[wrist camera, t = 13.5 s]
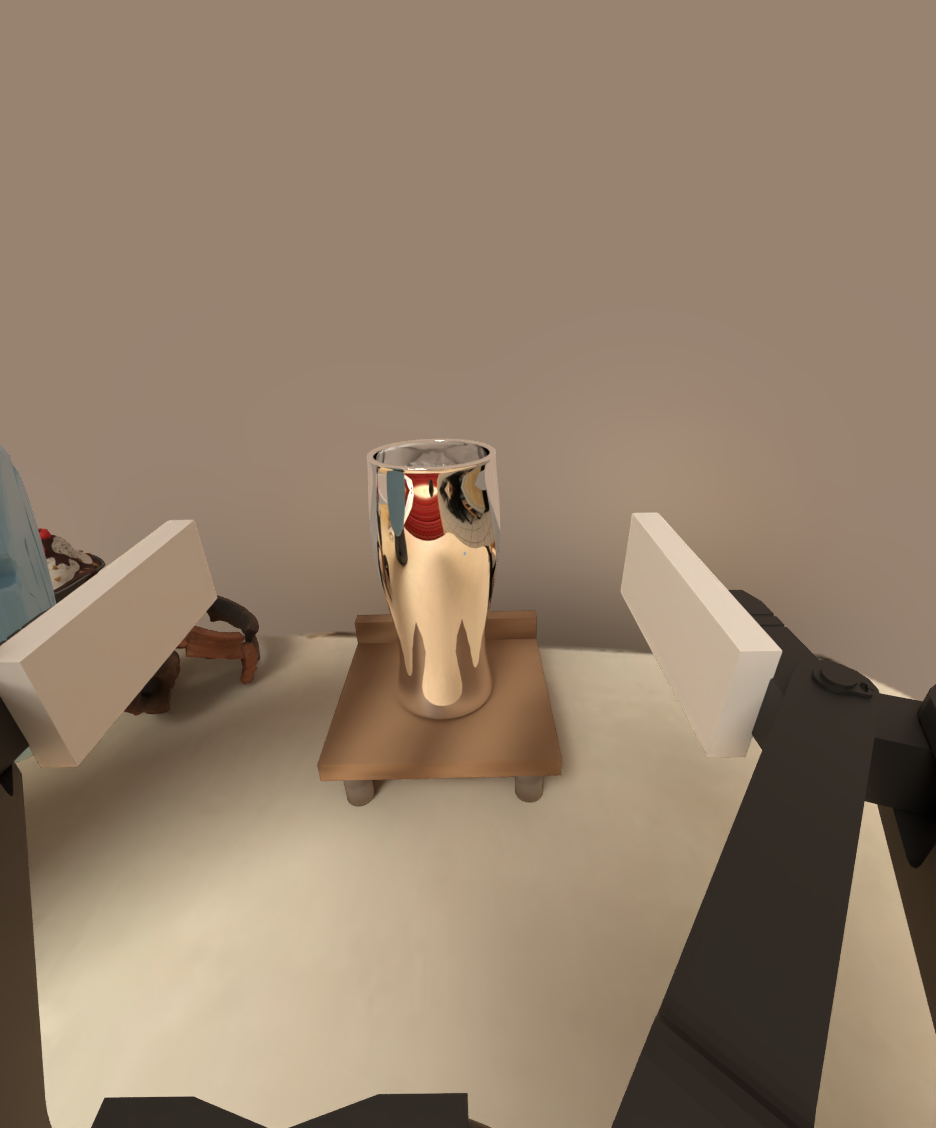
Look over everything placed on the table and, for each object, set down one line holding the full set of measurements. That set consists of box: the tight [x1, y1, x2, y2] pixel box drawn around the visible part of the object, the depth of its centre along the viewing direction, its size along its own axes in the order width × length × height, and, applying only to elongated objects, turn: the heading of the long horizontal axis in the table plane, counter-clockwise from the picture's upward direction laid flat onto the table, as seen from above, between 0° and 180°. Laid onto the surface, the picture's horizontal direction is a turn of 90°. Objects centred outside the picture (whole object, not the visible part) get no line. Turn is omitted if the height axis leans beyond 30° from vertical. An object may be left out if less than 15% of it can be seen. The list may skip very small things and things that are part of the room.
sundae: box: [38, 528, 105, 604], centre depth 36 cm, size 7×7×15 cm
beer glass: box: [367, 439, 500, 720], centre depth 29 cm, size 7×7×15 cm
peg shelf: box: [317, 610, 562, 806], centre depth 32 cm, size 13×12×6 cm
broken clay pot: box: [124, 596, 260, 715], centre depth 38 cm, size 12×10×8 cm
